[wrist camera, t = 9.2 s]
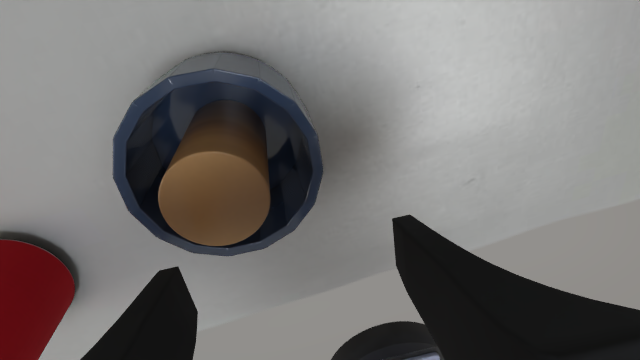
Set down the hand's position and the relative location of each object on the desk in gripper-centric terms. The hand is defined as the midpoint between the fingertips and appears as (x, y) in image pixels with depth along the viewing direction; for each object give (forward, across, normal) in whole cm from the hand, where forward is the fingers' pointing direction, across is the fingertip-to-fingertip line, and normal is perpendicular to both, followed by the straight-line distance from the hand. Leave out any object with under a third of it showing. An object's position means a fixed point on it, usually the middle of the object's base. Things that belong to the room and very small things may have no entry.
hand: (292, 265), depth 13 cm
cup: (+10, +2, -2) cm, 10 cm away
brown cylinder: (+9, +2, -2) cm, 10 cm away
